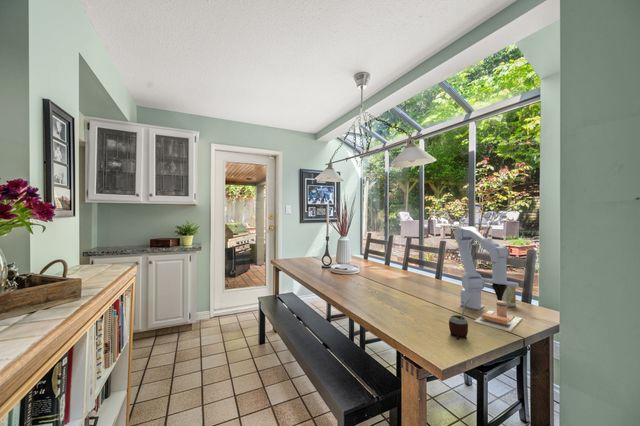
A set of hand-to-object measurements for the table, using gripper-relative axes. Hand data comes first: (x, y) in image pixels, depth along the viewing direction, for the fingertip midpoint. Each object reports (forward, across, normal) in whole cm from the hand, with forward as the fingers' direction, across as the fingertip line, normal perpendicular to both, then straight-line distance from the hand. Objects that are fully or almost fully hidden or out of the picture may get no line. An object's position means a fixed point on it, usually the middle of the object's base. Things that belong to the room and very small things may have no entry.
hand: (499, 299), depth 127 cm
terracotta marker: (+9, 0, +3) cm, 9 cm away
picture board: (+10, 0, -2) cm, 10 cm away
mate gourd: (+10, -6, -32) cm, 34 cm away
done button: (+8, 0, -7) cm, 10 cm away
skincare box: (+10, -3, +26) cm, 28 cm away
